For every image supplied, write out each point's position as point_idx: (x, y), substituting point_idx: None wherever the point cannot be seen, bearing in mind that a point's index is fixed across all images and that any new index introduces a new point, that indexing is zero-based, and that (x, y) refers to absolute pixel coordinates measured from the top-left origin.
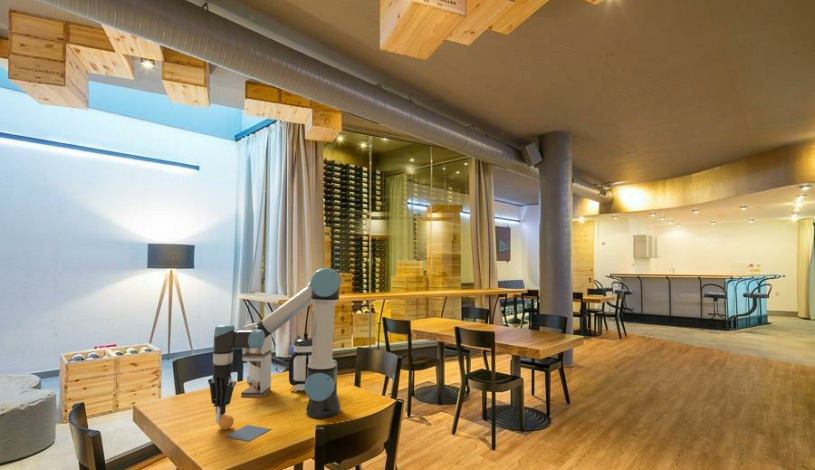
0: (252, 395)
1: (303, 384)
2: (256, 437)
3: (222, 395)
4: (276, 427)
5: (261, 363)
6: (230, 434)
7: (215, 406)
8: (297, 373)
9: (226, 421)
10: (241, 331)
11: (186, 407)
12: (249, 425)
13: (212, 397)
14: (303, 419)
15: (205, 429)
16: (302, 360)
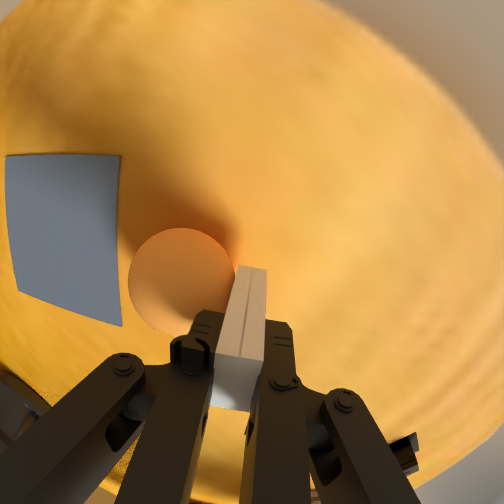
0: (317, 494)
1: None
2: (6, 202)
3: (122, 484)
4: (22, 310)
5: None
6: (106, 189)
7: (409, 435)
8: None
9: (141, 253)
10: None
11: (490, 393)
12: (107, 320)
13: (369, 457)
14: (23, 370)
15: (333, 234)
16: None
